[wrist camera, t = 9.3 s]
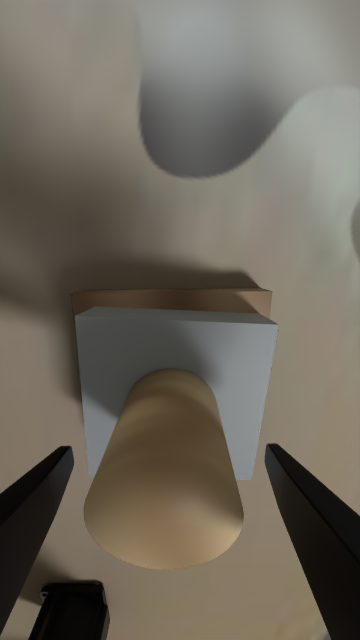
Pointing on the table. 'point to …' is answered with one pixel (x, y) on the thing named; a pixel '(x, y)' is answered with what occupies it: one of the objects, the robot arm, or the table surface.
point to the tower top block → (177, 353)
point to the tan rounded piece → (166, 477)
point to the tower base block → (177, 300)
